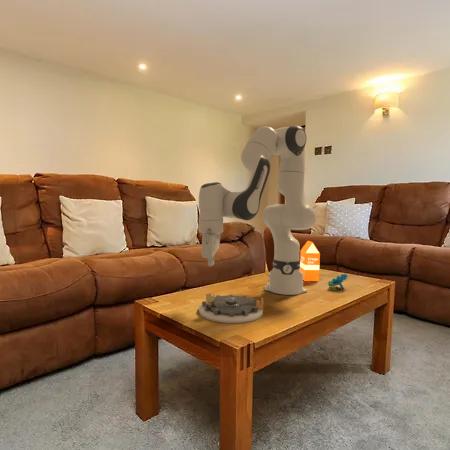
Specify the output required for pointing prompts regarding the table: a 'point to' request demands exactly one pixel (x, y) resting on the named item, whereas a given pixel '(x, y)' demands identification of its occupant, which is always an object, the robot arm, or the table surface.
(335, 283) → the teal green toy figure
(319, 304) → the table surface
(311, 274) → the orange juice
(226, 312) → the sprocket
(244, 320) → the sprocket base
